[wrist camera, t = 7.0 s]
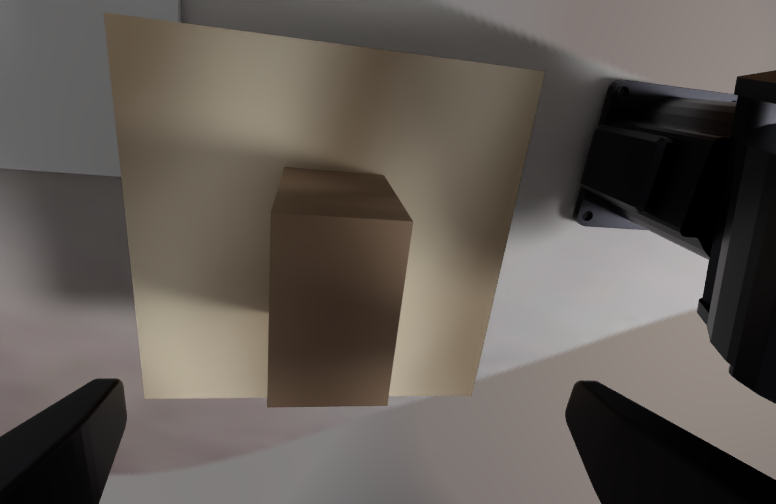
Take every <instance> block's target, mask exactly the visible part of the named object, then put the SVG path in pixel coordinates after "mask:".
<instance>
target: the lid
mask: <svg viewBox="0 0 776 504" xmlns="http://www.w3.org/2000/svg"><path fill="white" fill-rule="evenodd" d="M103 13H104V12H103ZM104 22H105V32H106V41H107V50H108V60H109V69H110V78H111V88H112V97H113V106H114V116H115V125H116V134H117V144H118V153H119V162H120V172H121V181H122V190H123V199H124V209H125V218H126V227H127V237H128V246H129V255H130V265H131V274H132V283H133V293H134V302H135V311H136V321H137V330H138V339H139V349H140V358H141V367H142V376H143V386H144V395H145V399H172V398H267V407H328V406H387V404H388V397H389V396H469V395H472V393H473V388H474V384H475V379H476V375H477V371H478V366H479V362H480V357H481V353H482V349H483V344H484V340H485V335H486V331H487V327H488V322H489V318H490V313H491V309H492V305H493V300H494V296H495V291H496V287H497V283H498V278H499V274H500V269H501V265H502V261H503V256H504V252H505V248H506V243H507V239H508V234H509V230H510V226H511V221H512V217H513V212H514V208H515V204H516V199H517V195H518V190H519V186H520V182H521V177H522V173H523V168H524V164H525V160H526V155H527V151H528V146H529V142H530V138H531V133H532V129H533V124H534V120H535V116H536V111H537V107H538V102H539V98H540V94H541V89H542V85H543V80H544V76H545V72H546V71H539V70H531V69H524V68H516V67H509V66H501V65H494V64H486V63H479V62H471V61H464V60H456V59H449V58H441V57H434V56H427V55H419V54H412V53H404V52H397V51H389V50H382V49H374V48H367V47H359V46H352V45H344V44H337V43H329V42H322V41H314V40H307V39H299V38H292V37H284V36H277V35H269V34H262V33H254V32H247V31H239V30H232V29H224V28H217V27H209V26H202V25H194V24H187V23H179V22H172V21H164V20H157V19H149V18H142V17H134V16H127V15H119V14H112V13H104Z"/></svg>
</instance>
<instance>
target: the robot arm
mask: <svg viewBox="0 0 776 504" xmlns="http://www.w3.org/2000/svg"><path fill="white" fill-rule="evenodd" d="M620 88H623V94H622V96H621V97H620V98H619V96H618V91H619V90H620ZM581 184H582V185H581V188H580V192H579V196H578V199H577V203H576V206H575V210H574V216H573V217H574V220H575V221H576V222H577V223H579V224H580V225H583V226H591V227H606V228H622V229H638V230H649V231H651V232H653V233H655V234H657V235H660V236H662V237H664V238H666V239H668V240H670V241H672V242H674V243H676V244H678V245H680V246H682V247H684V248H686V249H688V250H690V251H692V252H694V253H696V254H698V255H700V256H702V257H704V258H706V259H708V260H709V264H708V270H707V276H706V282H705V287H704V293H703V298H701V299H699V303H698V309H697V313H698V314H699V316H700V317H701V318H702V320H703V321H704V322H705V324H706V325H707V329H708V334H709V338H710V342H711V343H712V344H713V346H714V347H715V348H716V349H717V351H718V352H719V353H720V354H721V355H722V357H723V358H724V359H725V360H726V361H727V362H728V363H729V364H730V366H729V373H730V374H731V376H732V377H734V378H735V379H736V380H737V381H739V382H740V383H742V384H743V385H745V386H746V387H748V388H749V389H751V390H752V391H754V392H755V393H757V394H758V395H760V396H762V397H764V398H766V399H768V400H769V401H771V402H773V403H775V404H776V70H775V71H769V72H762V73H757V74H750V75H744V76H738V77H737V80H736V86H735V92H734V94H728V93H720V92H713V91H705V90H697V89H690V88H682V87H675V86H667V85H659V84H652V83H644V82H637V81H629V80H617V81H615V82H613V83H612V84H611V85H610V86H609V89H608V91H607V94H606V98H605V102H604V105H603V109H602V113H601V116H600V120H599V123H598V127H597V129H596V130H595V132H594V136H593V139H592V143H591V147H590V150H589V154H588V157H587V161H586V165H585V168H584V172H583V176H582V179H581ZM587 211H588V215H587V217H585V218H583V215H584V213H585V212H587ZM565 417H566V422H567V425H568V427H569V430H570V432H571V435H572V437H573V440H574V442H575V444H576V447H577V449H578V452H579V454H580V456H581V459H582V461H583V464H584V466H585V469H586V471H587V474H588V476H589V478H590V481H591V483H592V485H593V488H594V490H595V492H596V494H597V496H598V498H599V500H600V502H601V504H776V480H775V479H773V478H771V477H769V476H767V475H765V474H764V473H762V472H760V471H758V470H757V469H755V468H753V467H751V466H749V465H747V464H746V463H744V462H742V461H740V460H738V459H737V458H735V457H733V456H731V455H729V454H728V453H726V452H724V451H722V450H720V449H719V448H717V447H715V446H713V445H711V444H710V443H708V442H706V441H704V440H702V439H701V438H698V437H697V436H695V435H693V434H691V433H690V432H688V431H686V430H684V429H682V428H680V427H679V426H677V425H675V424H673V423H671V422H670V421H668V420H666V419H664V418H663V417H661V416H659V415H657V414H655V413H654V412H652V411H650V410H648V409H646V408H645V407H643V406H641V405H639V404H637V403H635V402H634V401H632V400H630V399H628V398H626V397H625V396H623V395H621V394H619V393H617V392H616V391H614V390H612V389H610V388H608V387H607V386H605V385H603V384H601V383H599V382H597V381H578V382H576V383H575V384H574V387H573V390H572V393H571V396H570V398H569V402H568V404H567V408H566V411H565ZM126 421H127V411H126V403H125V395H124V386H123V383H122V381H121V380H119V379H94V380H92V381H91V382H89V383H87V384H86V385H84V386H82V387H81V388H79V389H77V390H76V391H74V392H73V393H71V394H69V395H68V396H66V397H64V398H63V399H61V400H59V401H58V402H56V403H54V404H53V405H51V406H50V407H48V408H46V409H45V410H43V411H41V412H40V413H38V414H36V415H35V416H33V417H32V418H30V419H28V420H27V421H25V422H23V423H22V424H20V425H18V426H17V427H15V428H14V429H12V430H10V431H9V432H7V433H5V434H4V435H2V436H0V504H99V502H100V499H101V496H102V493H103V490H104V487H105V484H106V481H107V479H108V476H109V473H110V470H111V467H112V464H113V462H114V459H115V456H116V453H117V450H118V447H119V444H120V441H121V439H122V436H123V433H124V430H125V426H126Z"/></svg>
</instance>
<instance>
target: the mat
mask: <svg viewBox="0 0 776 504" xmlns="http://www.w3.org/2000/svg"><path fill="white" fill-rule="evenodd" d="M103 12H104V13H112V14H119V15H127V16H134V17H142V18H149V19H157V20H164V21H172V22H179V23H182V22H181V3H180V0H0V168H2V169H16V170H30V171H44V172H59V173H73V174H87V175H101V176H115V177H121V172H120V162H119V153H118V144H117V134H116V125H115V116H114V106H113V97H112V88H111V78H110V69H109V60H108V50H107V41H106V32H105V22H104V13H103Z"/></svg>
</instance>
